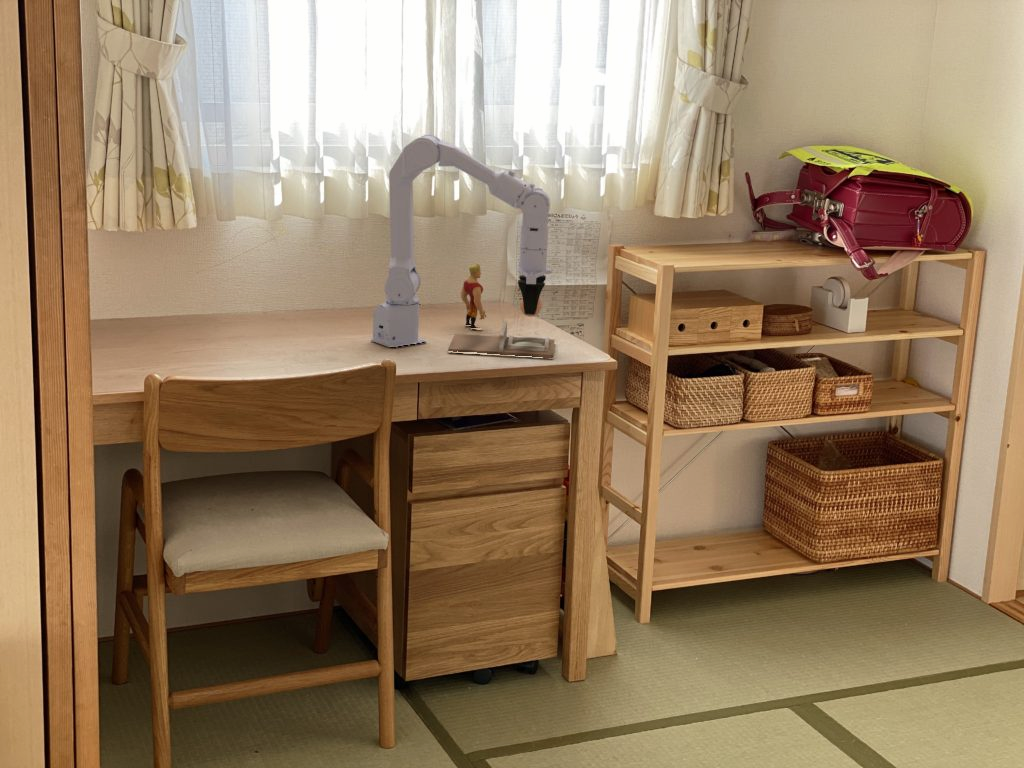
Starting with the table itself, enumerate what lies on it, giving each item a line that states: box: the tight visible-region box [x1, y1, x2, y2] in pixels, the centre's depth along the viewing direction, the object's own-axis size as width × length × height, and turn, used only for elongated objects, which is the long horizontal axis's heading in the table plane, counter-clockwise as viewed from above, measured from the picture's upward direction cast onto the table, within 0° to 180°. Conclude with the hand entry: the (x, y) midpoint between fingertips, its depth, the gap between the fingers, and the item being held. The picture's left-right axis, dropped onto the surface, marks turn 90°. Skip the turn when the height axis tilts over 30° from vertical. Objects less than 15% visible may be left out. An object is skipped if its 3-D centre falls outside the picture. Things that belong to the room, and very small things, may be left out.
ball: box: [519, 298, 543, 317], centre depth 254 cm, size 5×5×5 cm
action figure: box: [460, 263, 487, 329], centre depth 272 cm, size 10×4×15 cm, turn 25°
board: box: [447, 320, 556, 359], centre depth 256 cm, size 22×14×4 cm, turn 87°
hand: (530, 311), depth 255 cm, fingers closed on ball, 5 cm apart
